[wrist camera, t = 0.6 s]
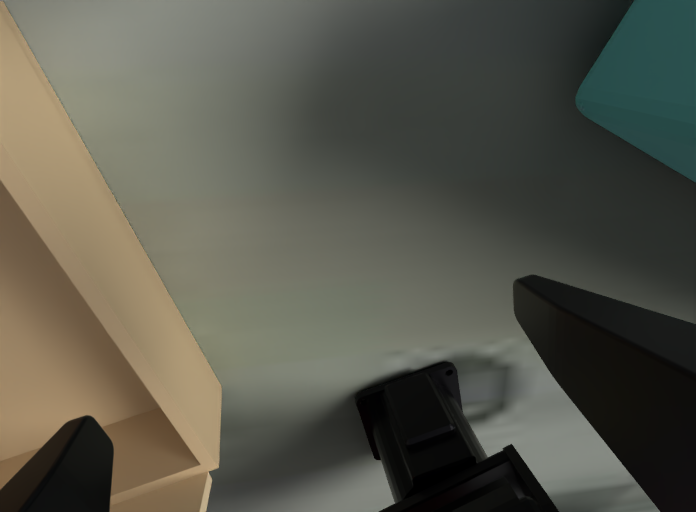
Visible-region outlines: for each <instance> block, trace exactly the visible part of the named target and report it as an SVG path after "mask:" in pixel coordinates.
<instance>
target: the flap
mask: <svg viewBox="0 0 696 512" xmlns="http://www.w3.org/2000/svg"><path fill="white" fill-rule="evenodd" d="M211 484H212V479H211V476H210V474H209V472H206V473H203V474H200V475H197V476H194V477H191V478H188V479H186V480H183V481H180V482H177V483H174V484H171V485H168V486H165V487H163V488H160V489H157V490H154V491H151V492H148V493H145V494H143V495H140V496H137V497H134V498H131V499H128V500H125V501H123V502H120V503H117V504H114V505H111V506H110V512H206V509H207V504H208V499H209V494H210V489H211Z"/></svg>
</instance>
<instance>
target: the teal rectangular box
mask: <svg viewBox="0 0 696 512" xmlns="http://www.w3.org/2000/svg"><path fill="white" fill-rule="evenodd" d="M575 102H576V107H577V108H578V109H579V111H580V112H581V113H582V114H583V115H584V116H585V117H587V118H588V119H590V120H592V121H593V122H595V123H597V124H598V125H600V126H602V127H603V128H605V129H607V130H608V131H610V132H612V133H613V134H615V135H617V136H618V137H620V138H622V139H623V140H625V141H627V142H628V143H630V144H632V145H633V146H635V147H637V148H638V149H640V150H642V151H643V152H645V153H647V154H648V155H650V156H652V157H653V158H655V159H657V160H658V161H660V162H662V163H663V164H665V165H667V166H668V167H670V168H672V169H673V170H675V171H677V172H678V173H680V174H682V175H683V176H685V177H687V178H689V179H690V180H692V181H694V182H695V183H696V0H634V2H633V3H632V5H631V6H630V8H629V9H628V11H627V13H626V14H625V16H624V17H623V19H622V21H621V22H620V24H619V25H618V27H617V28H616V30H615V32H614V33H613V35H612V36H611V38H610V39H609V41H608V43H607V44H606V46H605V47H604V49H603V51H602V52H601V54H600V55H599V57H598V58H597V60H596V62H595V63H594V65H593V66H592V68H591V69H590V71H589V73H588V74H587V76H586V77H585V79H584V81H583V82H582V84H581V85H580V87H579V89H578V92H577V95H576V98H575Z"/></svg>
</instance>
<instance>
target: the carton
mask: <svg viewBox="0 0 696 512" xmlns="http://www.w3.org/2000/svg"><path fill="white" fill-rule="evenodd" d="M221 398H222V387H221V385H220V383H219V381H218V379H217V378H216V376H215V374H214V372H213V371H212V369H211V367H210V365H209V364H208V362H207V360H206V358H205V357H204V355H203V353H202V351H201V350H200V348H199V346H198V344H197V342H196V341H195V339H194V337H193V335H192V334H191V332H190V330H189V328H188V327H187V325H186V323H185V321H184V320H183V318H182V316H181V314H180V312H179V311H178V309H177V307H176V305H175V304H174V302H173V300H172V298H171V297H170V295H169V293H168V291H167V290H166V288H165V286H164V284H163V283H162V281H161V279H160V277H159V275H158V274H157V272H156V270H155V268H154V267H153V265H152V263H151V261H150V260H149V258H148V256H147V254H146V253H145V251H144V249H143V247H142V245H141V244H140V242H139V240H138V238H137V237H136V235H135V233H134V231H133V230H132V228H131V226H130V224H129V223H128V221H127V219H126V217H125V215H124V214H123V212H122V210H121V208H120V207H119V205H118V203H117V201H116V200H115V198H114V196H113V194H112V193H111V191H110V189H109V187H108V186H107V184H106V182H105V180H104V178H103V177H102V175H101V173H100V171H99V170H98V168H97V166H96V164H95V163H94V161H93V159H92V157H91V156H90V154H89V152H88V150H87V148H86V147H85V145H84V143H83V141H82V140H81V138H80V136H79V134H78V133H77V131H76V129H75V127H74V126H73V124H72V122H71V120H70V119H69V117H68V115H67V113H66V111H65V110H64V108H63V106H62V104H61V103H60V101H59V99H58V97H57V96H56V94H55V92H54V90H53V89H52V87H51V85H50V83H49V81H48V80H47V78H46V76H45V74H44V73H43V71H42V69H41V67H40V66H39V64H38V62H37V60H36V59H35V57H34V55H33V53H32V51H31V50H30V48H29V46H28V44H27V43H26V41H25V39H24V37H23V36H22V34H21V32H20V30H19V29H18V27H17V25H16V23H15V22H14V20H13V18H12V16H11V14H10V13H9V11H8V9H7V7H6V6H5V4H4V2H3V1H0V489H1V488H2V487H3V486H4V485H5V484H6V483H7V482H8V481H9V480H10V479H11V478H12V477H13V476H14V475H15V474H16V473H17V472H18V471H19V470H20V469H21V468H22V467H23V466H24V465H25V464H26V463H27V462H28V461H29V460H30V459H31V458H32V457H33V456H34V455H35V454H36V453H37V451H38V450H39V449H40V448H41V447H42V446H43V445H44V444H45V443H46V442H47V441H48V440H49V439H50V438H51V437H52V436H53V435H54V434H55V433H56V432H57V431H58V430H59V429H60V428H61V427H62V426H63V425H64V424H65V423H66V422H68V421H70V420H72V419H76V418H79V417H82V416H85V415H90V416H92V417H94V418H95V419H96V421H97V422H98V423H99V425H100V426H101V427H102V428H103V430H104V431H105V432H106V434H107V435H108V436H109V437H110V439H111V441H112V443H113V447H114V458H113V472H112V485H111V499H110V506H111V505H114V504H117V503H120V502H123V501H125V500H128V499H131V498H134V497H137V496H140V495H143V494H145V493H148V492H151V491H154V490H157V489H160V488H163V487H165V486H168V485H171V484H174V483H177V482H180V481H183V480H186V479H188V478H191V477H194V476H197V475H200V474H203V473H206V472H208V471H211V470H214V469H217V468H219V451H220V425H221Z"/></svg>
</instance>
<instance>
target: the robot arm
mask: <svg viewBox="0 0 696 512" xmlns="http://www.w3.org/2000/svg"><path fill="white" fill-rule="evenodd" d="M513 298H514V313H515V316H516V319H517V321H518V322H519V324H520V325H521V327H522V329H523V330H524V332H525V333H526V335H527V336H528V338H529V340H530V341H531V343H532V344H533V346H534V348H535V349H536V351H537V352H538V354H539V355H540V357H541V359H542V360H543V362H544V363H545V365H546V366H547V368H548V370H549V371H550V373H551V374H552V376H553V377H554V378H555V380H556V381H557V382H558V384H559V385H560V386H561V388H562V389H563V390H564V391H565V393H566V394H567V395H568V396H569V398H570V399H571V400H572V401H573V403H574V404H575V405H576V406H577V408H578V409H579V410H580V411H581V413H582V414H583V415H584V416H585V418H586V419H587V420H588V421H589V423H590V424H591V425H592V426H593V428H594V429H595V430H596V432H597V433H598V434H599V435H600V437H601V438H602V439H603V440H604V442H605V443H606V444H607V445H608V447H609V448H610V449H611V450H612V452H613V453H614V454H615V455H616V457H617V458H618V459H619V460H620V462H621V463H622V464H623V465H624V467H625V468H626V469H627V470H628V472H629V473H630V474H631V475H632V477H633V478H634V479H635V480H636V482H637V483H638V484H639V485H640V487H641V488H642V489H643V490H644V492H645V493H646V494H647V495H648V497H649V498H650V499H651V500H652V502H653V503H654V504H655V505H656V507H657V508H658V509H659V510H660V512H696V324H693V323H690V322H686V321H683V320H680V319H677V318H674V317H670V316H667V315H664V314H661V313H657V312H654V311H651V310H648V309H644V308H641V307H638V306H635V305H631V304H628V303H625V302H622V301H618V300H615V299H612V298H609V297H605V296H602V295H599V294H596V293H592V292H589V291H586V290H583V289H579V288H576V287H573V286H570V285H567V284H563V283H560V282H557V281H554V280H550V279H547V278H544V277H541V276H537V275H528V276H525V277H522V278H518V279H516V280H515V281H514V284H513ZM363 399H364V400H363ZM355 402H356V405H357V408H358V411H359V414H360V417H361V420H362V423H363V426H364V429H365V432H366V435H367V438H368V441H369V444H370V447H371V450H372V453H373V456H374V458H375V459H376V460H381V461H382V464H383V467H384V470H385V474H386V477H387V480H388V483H389V486H390V489H391V492H392V495H393V499H394V502H395V504H393V505H391V506H389V507H387V508H385V509H383V510H381V511H379V512H559V511H558V509H557V508H556V506H555V505H554V504H553V502H552V501H551V499H550V498H549V496H548V495H547V493H546V492H545V491H544V489H543V488H542V486H541V485H540V483H539V482H538V481H537V479H536V478H535V476H534V475H533V473H532V472H531V471H530V469H529V468H528V466H527V465H526V463H525V462H524V461H523V459H522V458H521V456H520V455H519V454H518V452H517V451H516V449H515V448H514V446H513V445H512V444H510V445H508V446H506V447H504V448H503V451H501V452H499V453H496V454H494V455H492V456H490V457H487V455H486V453H485V452H484V450H483V448H482V446H481V444H480V443H479V441H478V439H477V437H476V435H475V434H474V432H473V430H472V428H471V427H470V425H469V423H468V421H467V419H466V418H465V416H464V414H463V411H462V404H461V397H460V390H459V383H458V375H457V370H456V368H455V366H454V364H453V363H451V362H446V363H443V364H440V365H437V366H434V367H431V368H429V369H426V370H423V371H420V372H417V373H414V374H411V375H408V376H405V377H402V378H400V379H397V380H394V381H391V382H388V383H385V384H382V385H379V386H376V387H373V388H371V389H368V390H365V391H362V392H360V393H358V394H357V395H356V396H355ZM113 458H114V447H113V443H112V441H111V439H110V437H109V436H108V435H107V434H106V432H105V431H104V430H103V428H102V427H101V426H100V425H99V423H98V422H97V421H96V419H95V418H94V417H92V416H90V415H85V416H82V417H79V418H76V419H72V420H70V421H68V422H66V423H65V424H64V425H63V426H62V427H61V428H60V429H59V430H58V431H57V432H56V433H55V434H54V435H53V436H52V437H51V438H50V439H49V440H48V441H47V442H46V443H45V444H44V445H43V446H42V447H41V448H40V449H39V450H38V451H37V453H36V454H35V455H34V456H33V457H32V458H31V459H30V460H29V461H28V462H27V463H26V464H25V465H24V466H23V467H22V468H21V469H20V470H19V471H18V472H17V473H16V474H15V475H14V476H13V477H12V478H11V479H10V480H9V481H8V482H7V483H6V484H5V485H4V486H3V487H2V488H1V489H0V512H110V499H111V485H112V472H113Z"/></svg>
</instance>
